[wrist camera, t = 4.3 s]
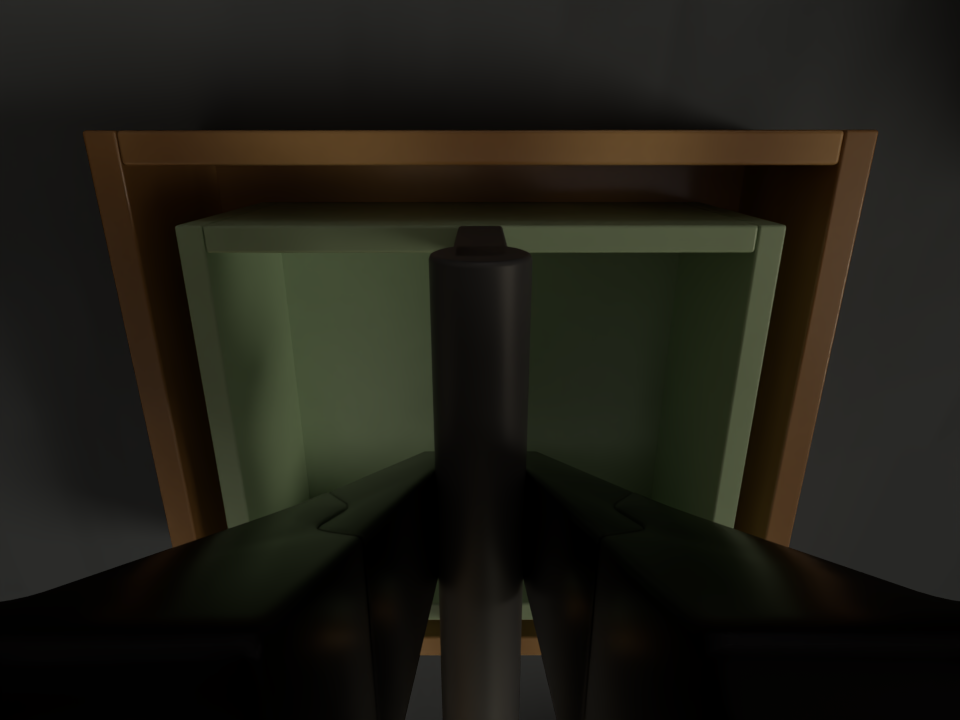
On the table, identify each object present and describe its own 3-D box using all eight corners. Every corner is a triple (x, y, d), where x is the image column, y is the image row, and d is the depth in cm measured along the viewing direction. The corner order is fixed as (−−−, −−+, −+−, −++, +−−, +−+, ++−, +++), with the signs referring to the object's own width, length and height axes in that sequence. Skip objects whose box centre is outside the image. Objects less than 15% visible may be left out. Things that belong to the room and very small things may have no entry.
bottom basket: (259, 541, 19) (195, 656, 15) (195, 134, 15) (80, 130, 10) (702, 541, 19) (765, 656, 15) (764, 133, 15) (880, 129, 10)
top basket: (298, 508, 18) (168, 771, 10) (260, 202, 15) (34, 262, 7) (662, 508, 18) (793, 771, 10) (699, 201, 15) (926, 261, 7)
